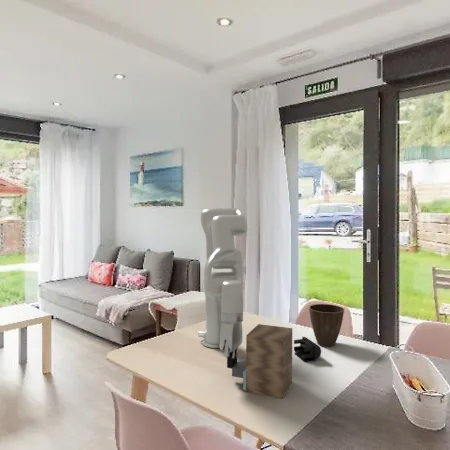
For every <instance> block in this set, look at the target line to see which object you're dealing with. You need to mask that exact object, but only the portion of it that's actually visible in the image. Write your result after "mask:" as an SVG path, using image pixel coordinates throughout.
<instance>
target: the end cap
mask: <svg viewBox="0 0 450 450" xmlns="http://www.w3.org/2000/svg"><path fill="white" fill-rule="evenodd" d="M297 344H299V345H298V346H297ZM293 345H296V346H293V351H294V355H295V356H296V357H297V358H298V359H300V360H301V361H303V362H304V363H312V362H316V361H317V360H318V359H319V358H320V357H321V355H322V349H321V347H320V345H319V344H318V343H316V342H314V341H312V340H311V339H309V338H308V337H306V336H302V338H299V339H294V340H293Z"/></svg>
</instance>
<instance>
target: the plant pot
mask: <svg viewBox="0 0 450 450" xmlns="http://www.w3.org/2000/svg"><path fill="white" fill-rule="evenodd" d="M308 310H309V317H310V322H311V327H312V330H313V333H314V334H313V335H314V337H315V340H316V344H317V345H318V346H321V347H326V348H327V347H329V348H330V347H335V345H336V342H337V340H338V337H339V335H340V332H341V329H342V325H343V324H342V323H343V320H344V319H343V317H344V313H345V308H343V307H342V306H340V305H334V304H327V303H317V304H312V305H309V307H308Z"/></svg>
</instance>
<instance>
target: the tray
mask: <svg viewBox="0 0 450 450" xmlns="http://www.w3.org/2000/svg"><path fill="white" fill-rule="evenodd" d="M231 376H232V377H235V378H240V379H242V390H243V391H246V359H245V358H244V359H243V358H239V359H238V360H237V363H236V364H235V365H234V366H233V367H232V369H231Z"/></svg>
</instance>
